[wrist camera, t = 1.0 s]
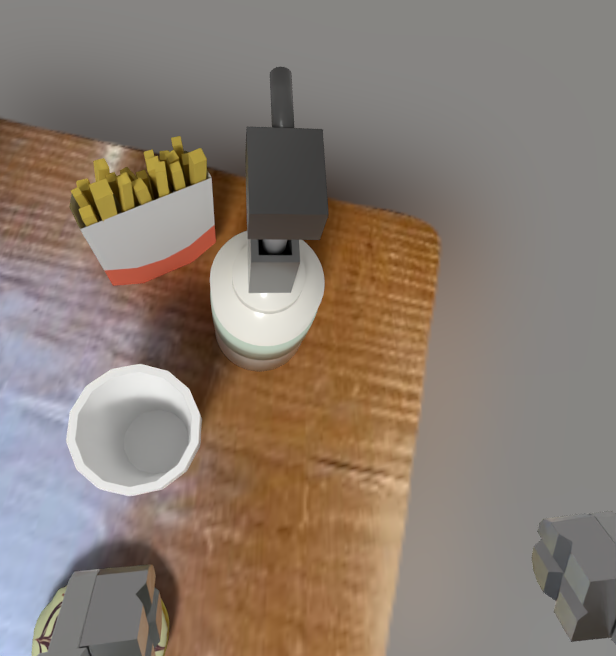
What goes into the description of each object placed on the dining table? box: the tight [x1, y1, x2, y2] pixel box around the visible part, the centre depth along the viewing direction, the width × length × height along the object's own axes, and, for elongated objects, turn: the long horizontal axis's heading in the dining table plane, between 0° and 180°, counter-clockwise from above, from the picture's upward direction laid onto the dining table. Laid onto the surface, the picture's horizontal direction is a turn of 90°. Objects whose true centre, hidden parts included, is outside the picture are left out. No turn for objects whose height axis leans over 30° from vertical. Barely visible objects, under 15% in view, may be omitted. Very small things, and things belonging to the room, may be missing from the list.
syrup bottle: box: [210, 231, 324, 371], centre depth 47 cm, size 9×9×22 cm
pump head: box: [245, 67, 328, 255], centre depth 34 cm, size 4×9×9 cm, turn 3°
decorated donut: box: [32, 585, 169, 656], centre depth 47 cm, size 10×11×4 cm
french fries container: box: [70, 136, 216, 286], centre depth 50 cm, size 5×11×18 cm, turn 118°
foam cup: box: [66, 364, 202, 496], centre depth 47 cm, size 10×9×13 cm
